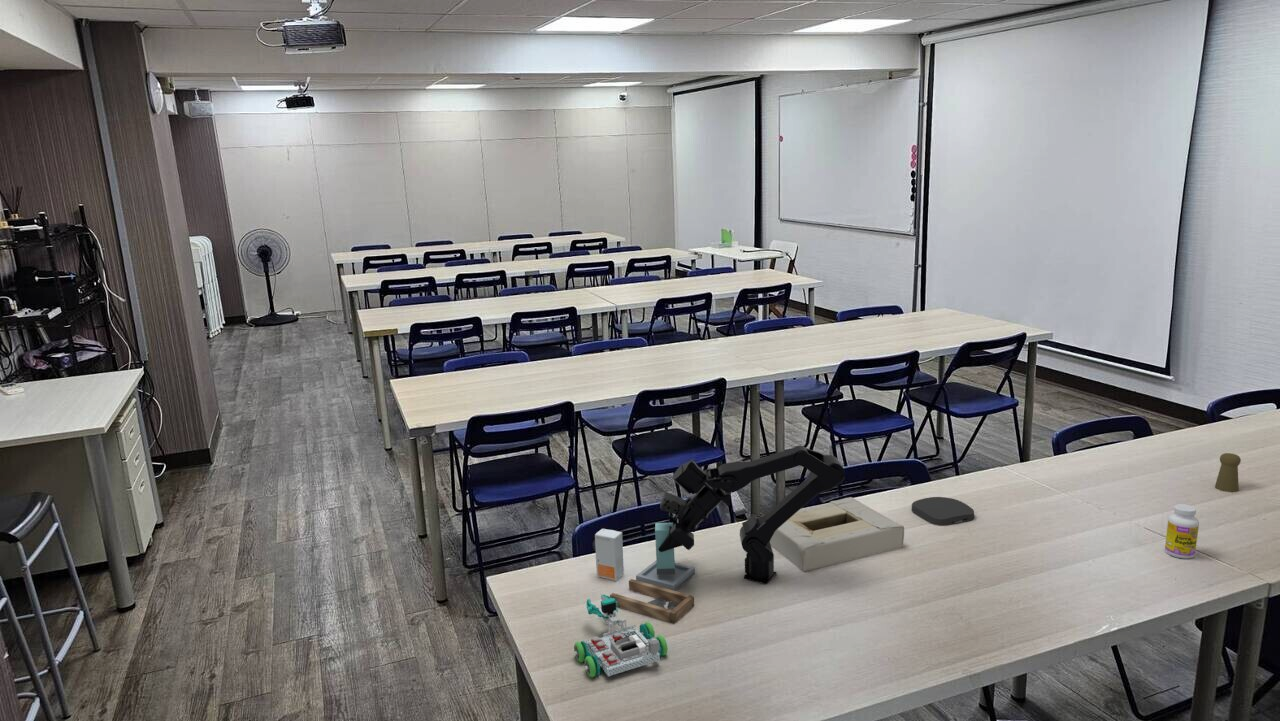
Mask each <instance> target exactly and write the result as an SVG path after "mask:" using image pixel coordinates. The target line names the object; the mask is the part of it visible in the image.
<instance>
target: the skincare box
mask: <svg viewBox="0 0 1280 721" xmlns="http://www.w3.org/2000/svg"><path fill="white" fill-rule="evenodd" d="M623 542H624V541H623V532H622V531H618V530H614V529H606V528H601V529H600V530H599V531H596V533H595V534H594V543H595V544H594V545H595V566H596V577H598V578H603V579H608V580H611V581H616V582H617V581H618V580H619V579H620V578H621V577H622V576H624V574H625V573H624V572H625V571H624V570H625V568H624V547H623Z"/></svg>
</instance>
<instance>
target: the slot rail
mask: <svg viewBox="0 0 1280 721" xmlns="http://www.w3.org/2000/svg"><path fill="white" fill-rule="evenodd" d="M628 590H629V591H632V592H635V593H638V594H640V595H641V594H642V595H646V596H648V597H649V596H650V597H652V598H655V599H657V598H660V597H661V598H663V599H664V600H666V602H668V603H669V602H676V603H680V604H679V605H677V606H676V607H675V608H674V609H673V610H669V609H668V608H667V607H665V608H663V607H659V606H656V605H652V604H649V603H648V602H645V601H642V600H638V599H634V598H631V597H627V596H625V595H621V594H617V593H614V592H612V593H611V594H609V597H611V598H614V599H616V601H617V605H618V606H617V607H616V608H619V609H620V608H621V609H624V610H627V611H631V612H634V613H637V614H640V615H643V616H647V617H651V618H653V619H658V620H661V621H664V622H666V623H667V622H668V623H670V624H673V625H674V624H676V623H677V622H678V621H679V620H680V619H681V618H682V617H684V615H686V614H687V613H688V612H689V611H690V610H691V609H692V608H693V607H694V606H695V596H694V595H691V594H687V593H684V592H680V591H678V590H677V591H674V590H670V589H666V588H663V587H659V586H655V585H652V584H648V583H645V582H641V581H637V580H636V579H634V578H630V579H629V580H628Z"/></svg>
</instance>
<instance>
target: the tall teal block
mask: <svg viewBox="0 0 1280 721" xmlns="http://www.w3.org/2000/svg"><path fill="white" fill-rule="evenodd" d="M654 524H655V527H654V535H655V556H656V558H655V559H656V560H655V561H656V562H657V575H668V574H675V563H676V560H675V558H676V557H675V548H673V549H670V550H667V551H664V552H660V551H659V550H658V549H659V547H660V546H661V544H662V543H663V541H664V540H665V539H666V537H667V536H668V535H669V526H671V527H672V526H673V523H669V522H654Z"/></svg>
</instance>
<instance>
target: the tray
mask: <svg viewBox="0 0 1280 721" xmlns="http://www.w3.org/2000/svg"><path fill="white" fill-rule="evenodd" d="M695 576H696V567H694V566H691V565H686V564H682V563H678V562H675V574H668V575H657V562H656V560H654V562H652V563H651V564H649V565H648V566H647V567H646V568H644V569H642V570H641V571H640V572H638V574H636V575H635V580H637V581H641V582H645V583H648V584H652V585H655V586H659V587H663V588H666V589H670V590H674V591H677V592H678V590H679V589H680V588H682V587H683V586H684V585H685V584H686V583H687V582H688V581H689V580H691V579H692V578H693V577H695Z"/></svg>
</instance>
